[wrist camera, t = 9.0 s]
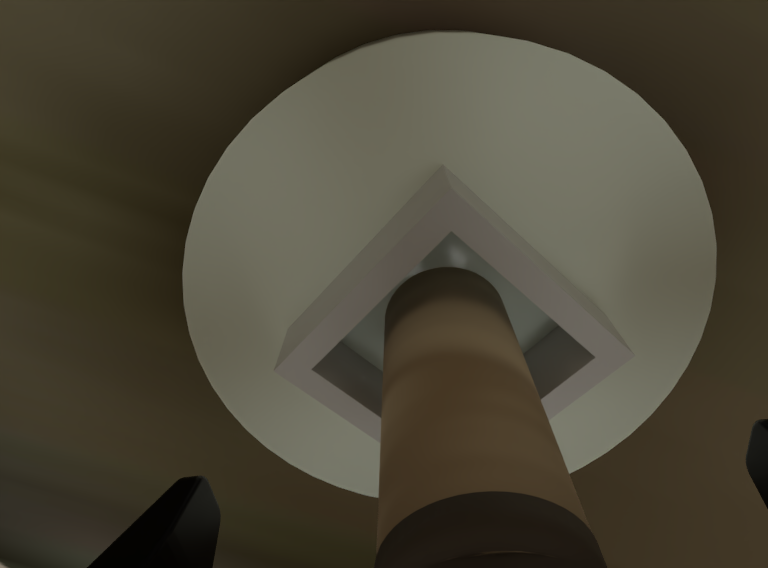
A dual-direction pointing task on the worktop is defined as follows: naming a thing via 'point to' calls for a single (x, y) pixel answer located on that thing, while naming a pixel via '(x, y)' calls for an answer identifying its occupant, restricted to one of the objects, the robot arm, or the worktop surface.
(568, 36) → the worktop surface
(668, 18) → the worktop surface
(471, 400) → the dowel
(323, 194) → the disc with square recess
